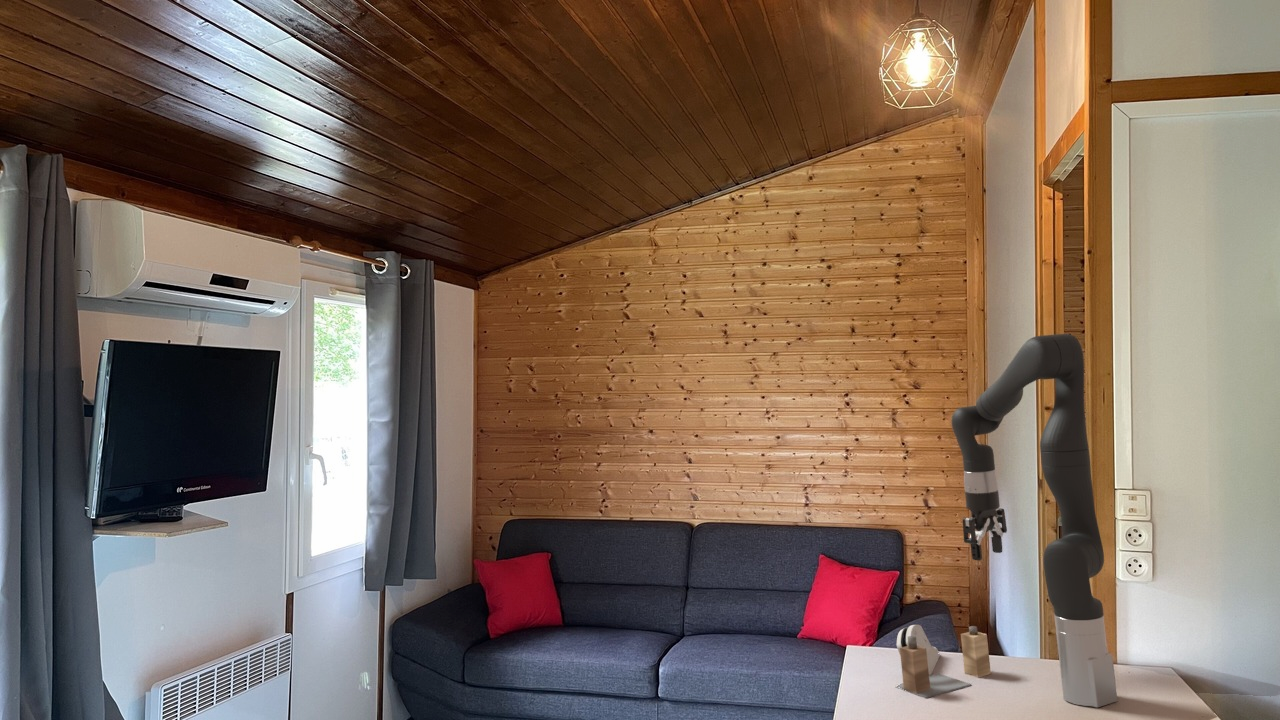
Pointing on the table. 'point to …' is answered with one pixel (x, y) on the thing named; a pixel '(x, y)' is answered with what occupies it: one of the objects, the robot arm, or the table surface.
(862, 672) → the table surface
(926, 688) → the mount
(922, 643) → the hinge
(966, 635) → the wooden peg block
